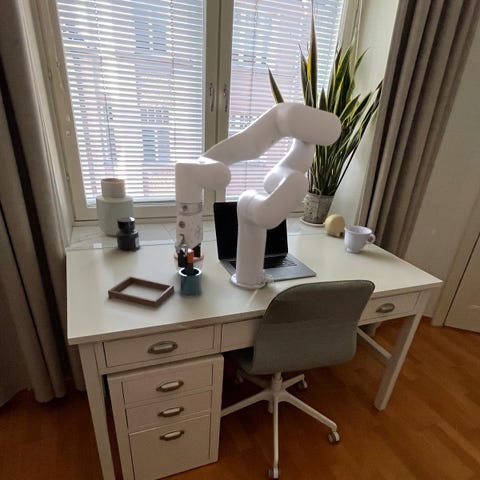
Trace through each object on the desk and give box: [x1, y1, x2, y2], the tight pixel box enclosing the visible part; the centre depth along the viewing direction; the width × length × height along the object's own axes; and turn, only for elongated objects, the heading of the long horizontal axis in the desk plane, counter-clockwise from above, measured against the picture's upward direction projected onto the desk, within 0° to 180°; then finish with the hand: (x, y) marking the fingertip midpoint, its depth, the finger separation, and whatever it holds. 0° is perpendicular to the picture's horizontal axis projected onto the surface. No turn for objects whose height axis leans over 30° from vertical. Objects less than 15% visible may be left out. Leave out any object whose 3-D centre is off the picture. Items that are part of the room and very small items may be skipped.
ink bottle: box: [115, 216, 141, 252], centre depth 143 cm, size 10×9×12 cm
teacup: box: [344, 224, 376, 254], centre depth 157 cm, size 12×15×10 cm
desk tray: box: [107, 275, 175, 309], centre depth 111 cm, size 17×12×3 cm
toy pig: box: [322, 213, 346, 238], centre depth 176 cm, size 10×12×11 cm
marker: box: [186, 248, 194, 276], centre depth 112 cm, size 2×2×14 cm
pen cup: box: [178, 268, 202, 297], centre depth 114 cm, size 7×7×8 cm
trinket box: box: [173, 248, 205, 273], centre depth 126 cm, size 11×11×9 cm
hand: (189, 262), depth 110 cm, fingers open, 9 cm apart
